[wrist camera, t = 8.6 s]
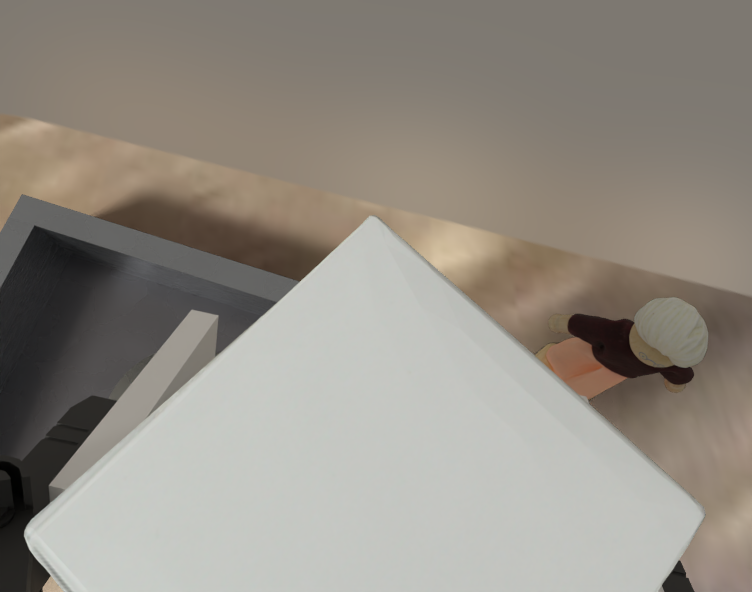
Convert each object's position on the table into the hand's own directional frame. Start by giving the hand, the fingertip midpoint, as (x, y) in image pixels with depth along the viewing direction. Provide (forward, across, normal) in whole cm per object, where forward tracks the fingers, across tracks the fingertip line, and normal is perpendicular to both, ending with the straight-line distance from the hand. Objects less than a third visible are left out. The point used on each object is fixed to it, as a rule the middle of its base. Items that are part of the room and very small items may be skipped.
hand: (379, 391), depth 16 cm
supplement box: (+1, 0, -6) cm, 6 cm away
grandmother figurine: (+18, +13, -9) cm, 24 cm away
